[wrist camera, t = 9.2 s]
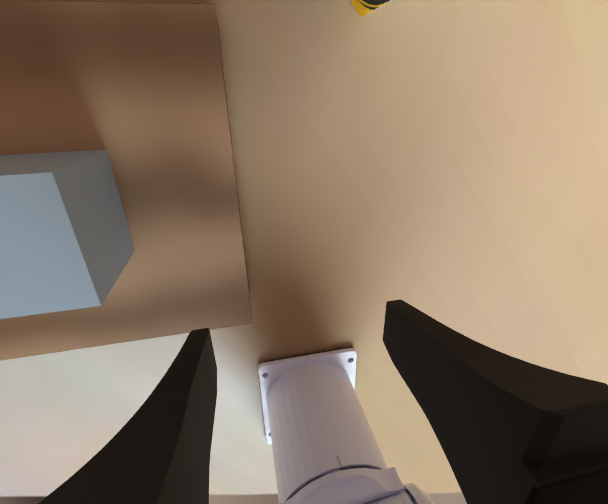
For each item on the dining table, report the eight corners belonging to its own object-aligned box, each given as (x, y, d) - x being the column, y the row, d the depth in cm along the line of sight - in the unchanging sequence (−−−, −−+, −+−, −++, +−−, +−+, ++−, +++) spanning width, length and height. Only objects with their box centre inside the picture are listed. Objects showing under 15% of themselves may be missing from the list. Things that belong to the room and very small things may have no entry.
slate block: (135, 250, 17) (100, 305, 12) (25, 262, 16) (-54, 326, 11) (106, 149, 14) (52, 172, 10) (-23, 156, 14) (-145, 185, 9)
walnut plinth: (249, 296, 23) (252, 323, 20) (-13, 331, 20) (-50, 367, 17) (217, 19, 16) (214, 4, 13) (-194, 14, 13) (-303, -7, 10)
